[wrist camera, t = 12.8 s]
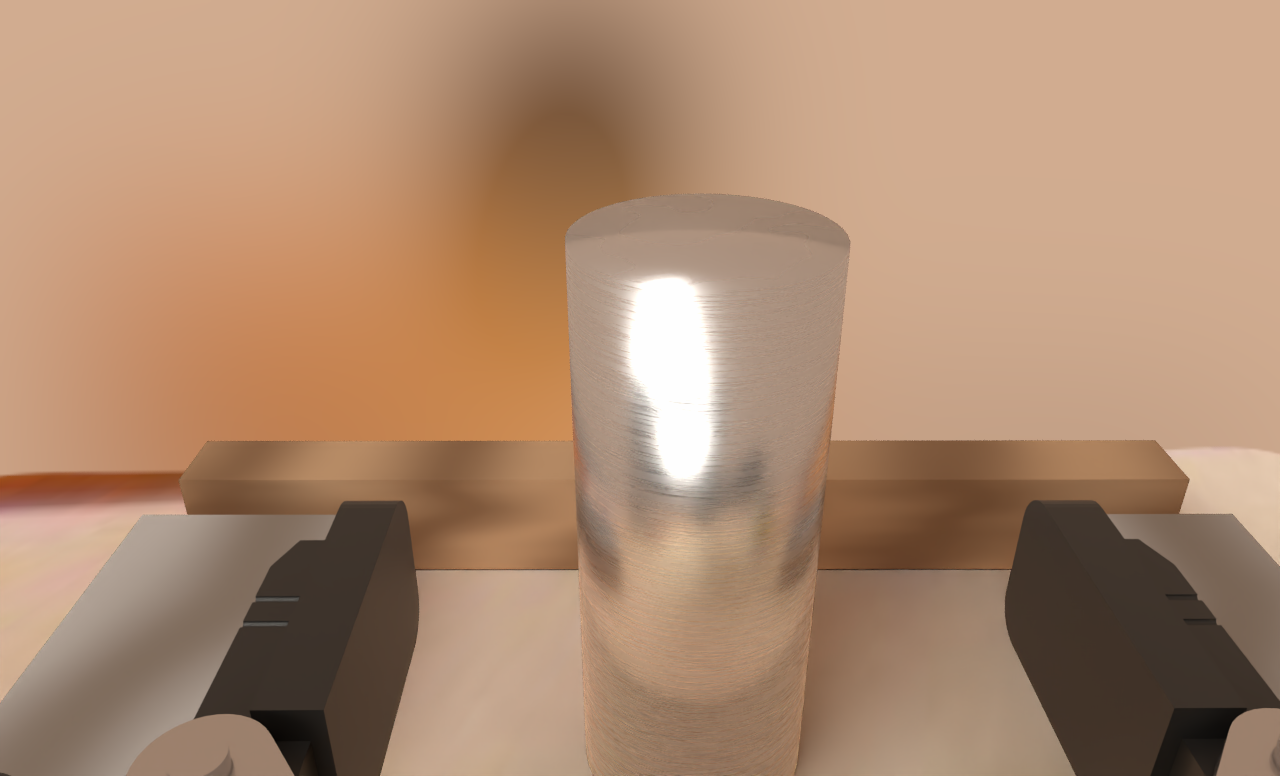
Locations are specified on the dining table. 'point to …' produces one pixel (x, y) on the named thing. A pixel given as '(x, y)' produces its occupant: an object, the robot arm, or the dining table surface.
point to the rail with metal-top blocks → (549, 554)
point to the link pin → (700, 474)
